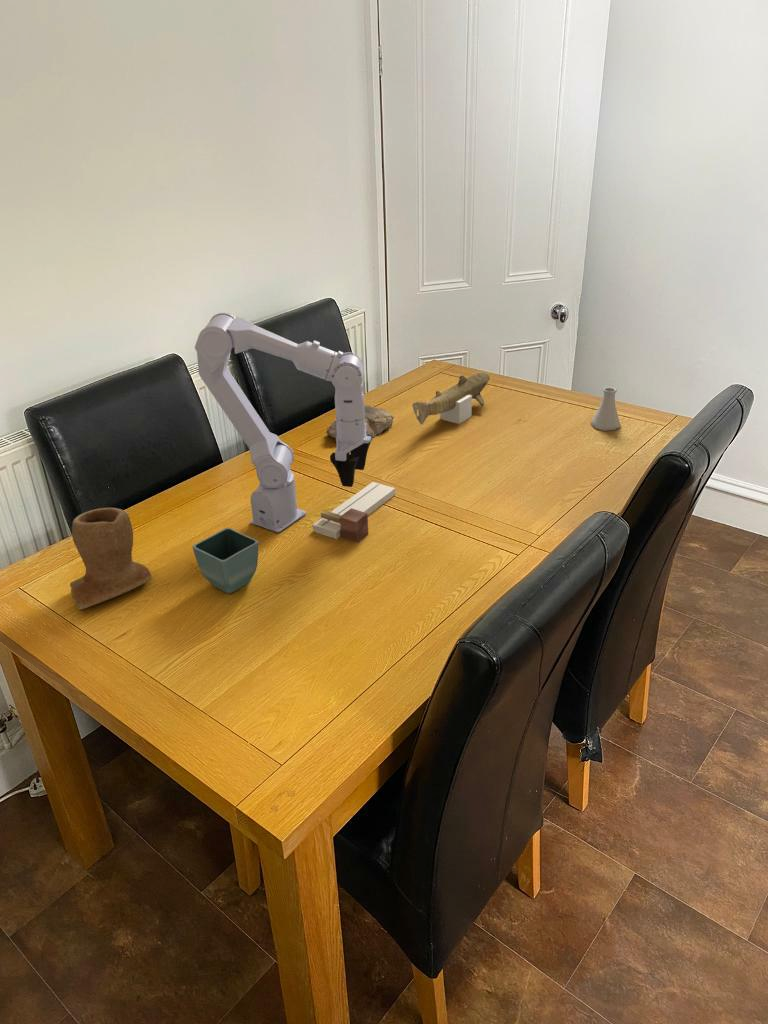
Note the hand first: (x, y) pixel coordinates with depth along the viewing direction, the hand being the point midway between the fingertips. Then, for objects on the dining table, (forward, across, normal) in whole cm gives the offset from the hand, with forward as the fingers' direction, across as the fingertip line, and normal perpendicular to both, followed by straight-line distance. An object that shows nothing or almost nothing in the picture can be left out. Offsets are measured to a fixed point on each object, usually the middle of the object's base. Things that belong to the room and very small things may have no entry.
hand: (353, 477), depth 167 cm
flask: (+10, +60, -49) cm, 78 cm away
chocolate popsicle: (+10, -6, +1) cm, 11 cm away
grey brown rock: (+10, +43, +13) cm, 46 cm away
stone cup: (+10, -36, +37) cm, 52 cm away
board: (+10, +2, +1) cm, 10 cm away
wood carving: (+10, +55, -9) cm, 56 cm away
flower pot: (+10, -29, +15) cm, 34 cm away
